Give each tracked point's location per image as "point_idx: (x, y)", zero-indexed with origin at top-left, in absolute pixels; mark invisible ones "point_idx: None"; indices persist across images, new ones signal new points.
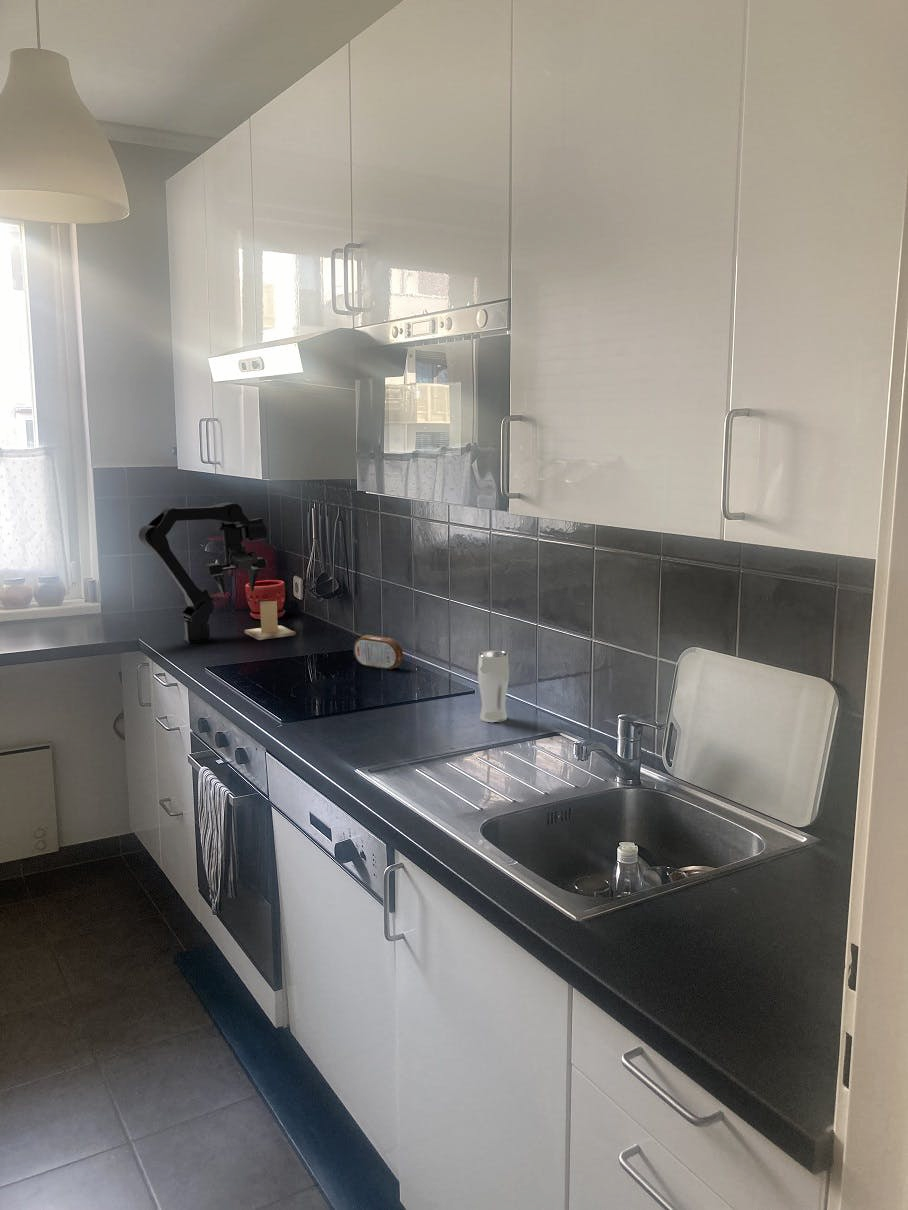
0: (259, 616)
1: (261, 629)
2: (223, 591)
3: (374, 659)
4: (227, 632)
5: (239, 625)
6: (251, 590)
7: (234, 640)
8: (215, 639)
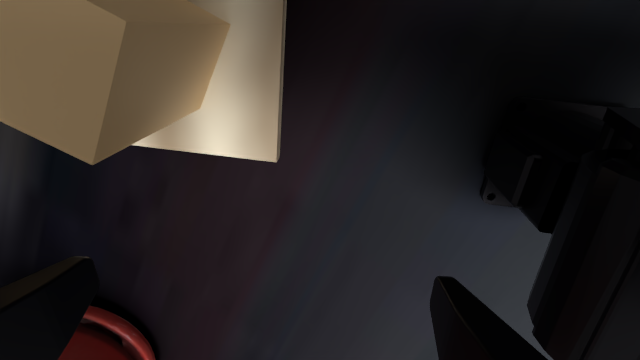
0: (133, 332)
1: (222, 22)
2: (486, 309)
3: None
4: (339, 220)
5: (240, 298)
6: (89, 272)
7: (404, 24)
8: (465, 120)
